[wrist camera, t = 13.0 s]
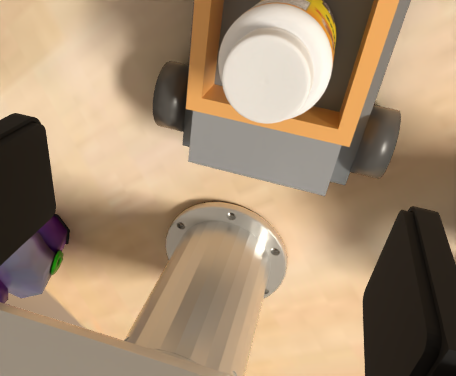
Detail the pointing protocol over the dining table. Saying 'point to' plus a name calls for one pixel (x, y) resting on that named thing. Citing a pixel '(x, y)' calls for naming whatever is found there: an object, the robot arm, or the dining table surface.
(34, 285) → the potion bottle
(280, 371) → the dining table surface
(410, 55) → the dining table surface
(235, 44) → the supplement bottle
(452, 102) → the dining table surface
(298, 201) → the dining table surface
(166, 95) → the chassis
